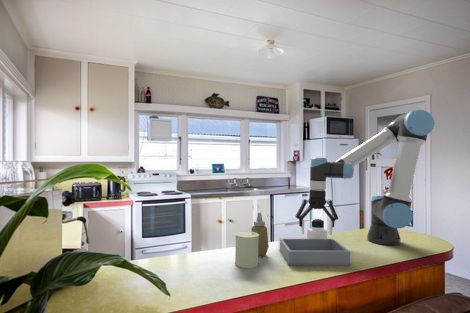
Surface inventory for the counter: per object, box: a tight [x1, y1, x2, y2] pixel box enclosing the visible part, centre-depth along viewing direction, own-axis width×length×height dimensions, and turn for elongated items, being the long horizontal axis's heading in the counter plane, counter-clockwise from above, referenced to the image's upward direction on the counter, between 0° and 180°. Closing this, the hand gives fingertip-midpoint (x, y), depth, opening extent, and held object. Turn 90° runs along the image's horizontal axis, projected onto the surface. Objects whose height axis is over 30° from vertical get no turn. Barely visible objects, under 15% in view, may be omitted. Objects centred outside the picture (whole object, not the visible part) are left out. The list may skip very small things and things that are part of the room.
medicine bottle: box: [306, 218, 328, 239], centre depth 143 cm, size 7×7×12 cm
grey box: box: [279, 238, 351, 267], centre depth 124 cm, size 24×18×6 cm
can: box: [234, 230, 259, 269], centre depth 116 cm, size 9×9×12 cm
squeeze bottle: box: [250, 212, 270, 258], centre depth 126 cm, size 8×8×18 cm
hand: (316, 233), depth 143 cm, fingers open, 13 cm apart
